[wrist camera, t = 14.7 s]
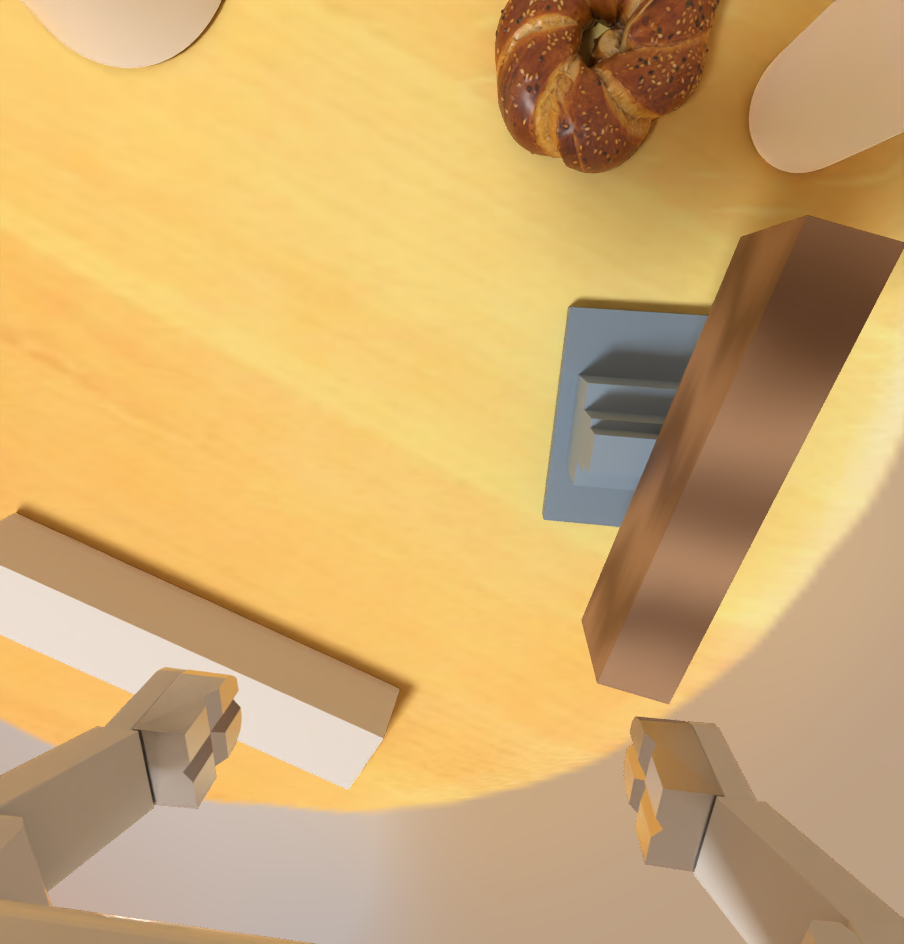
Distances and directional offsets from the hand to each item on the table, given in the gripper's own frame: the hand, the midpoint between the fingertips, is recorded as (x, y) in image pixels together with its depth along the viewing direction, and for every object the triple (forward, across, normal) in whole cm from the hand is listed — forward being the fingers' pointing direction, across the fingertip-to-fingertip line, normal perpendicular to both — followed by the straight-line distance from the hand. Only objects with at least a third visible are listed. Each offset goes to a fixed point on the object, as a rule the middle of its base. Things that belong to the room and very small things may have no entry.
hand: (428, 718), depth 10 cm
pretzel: (+27, -5, -21) cm, 34 cm away
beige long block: (+26, +23, +21) cm, 41 cm away
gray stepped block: (+26, -10, -1) cm, 28 cm away
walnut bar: (+16, -10, -1) cm, 19 cm away
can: (+26, -17, -19) cm, 36 cm away
